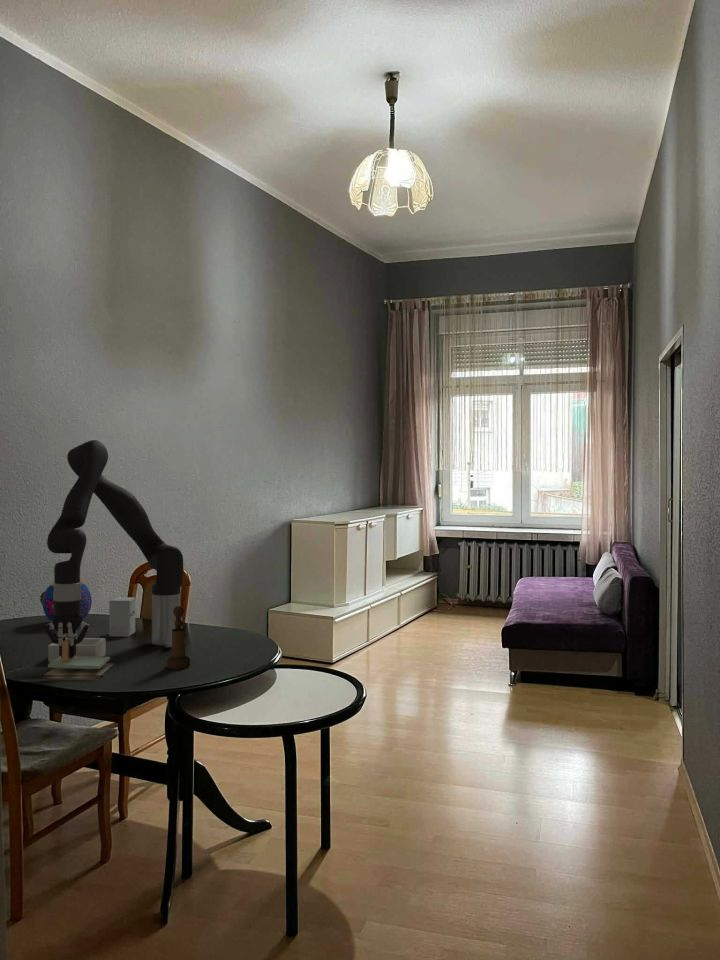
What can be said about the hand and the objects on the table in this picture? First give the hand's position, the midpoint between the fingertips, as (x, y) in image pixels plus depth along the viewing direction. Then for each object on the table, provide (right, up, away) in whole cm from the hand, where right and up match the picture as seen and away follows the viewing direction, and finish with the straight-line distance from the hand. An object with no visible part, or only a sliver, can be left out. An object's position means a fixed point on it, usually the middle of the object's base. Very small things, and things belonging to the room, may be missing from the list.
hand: (67, 657), depth 235 cm
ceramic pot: (-25, -3, +70) cm, 74 cm away
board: (+4, -4, 0) cm, 6 cm away
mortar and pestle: (+30, -5, +7) cm, 32 cm away
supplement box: (+1, -3, +51) cm, 51 cm away
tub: (-2, -4, +13) cm, 14 cm away
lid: (+3, -2, 0) cm, 4 cm away
